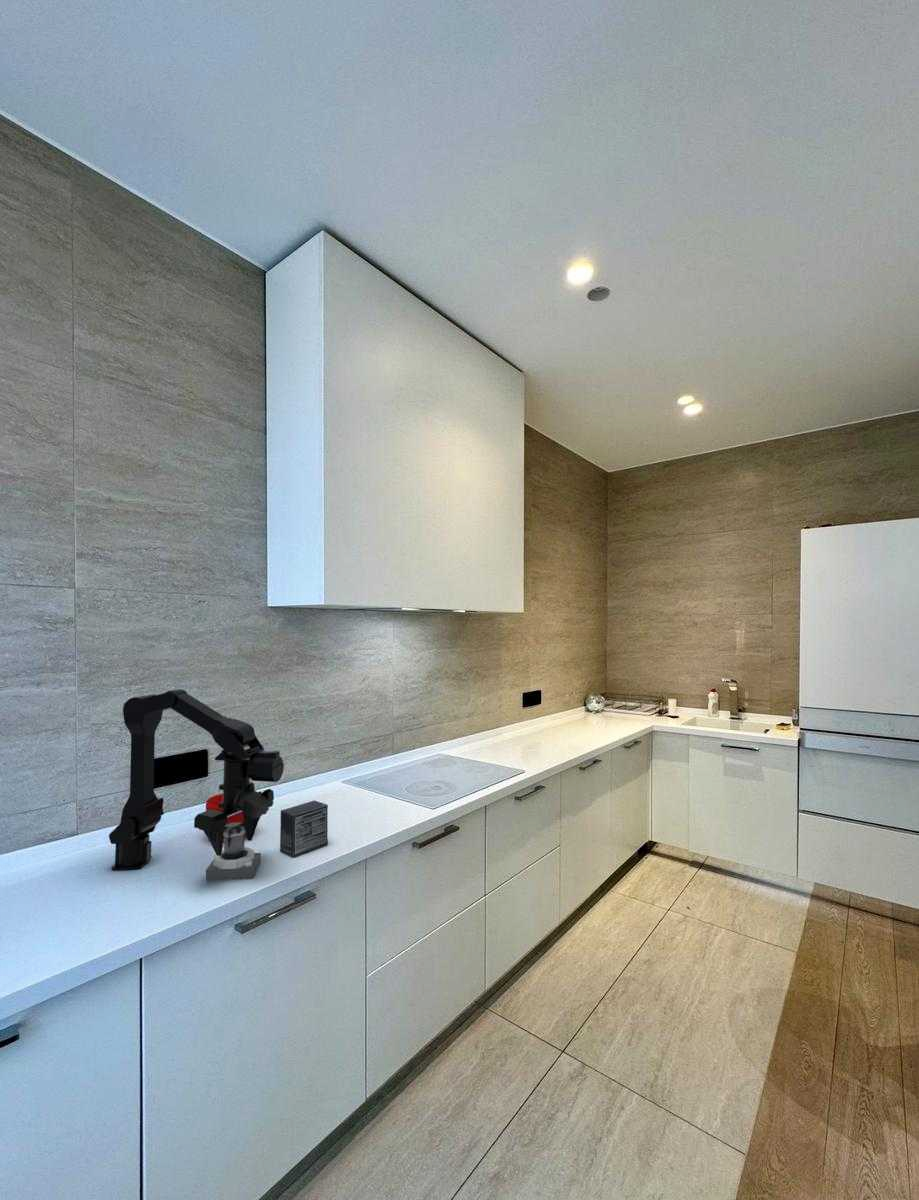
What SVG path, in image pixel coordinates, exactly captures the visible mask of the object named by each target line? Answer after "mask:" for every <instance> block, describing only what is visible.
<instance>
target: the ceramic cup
mask: <svg viewBox="0 0 919 1200" xmlns="http://www.w3.org/2000/svg"><path fill="white" fill-rule="evenodd" d="M220 802H223V793H218V794H215V795H213V796H211V797H209V798H208V799H207V800H206V802H205V811H208V810H215V811H222V810H223V808H218V806H219V803H220ZM235 822H242V823H244V817H243V812H240V813H238V814H236V815H233V816H231V817H228V822H227V824H230V823H235ZM227 824H226V825H227ZM226 825H225V826H226ZM223 842H224V833H223Z"/></svg>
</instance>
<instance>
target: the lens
mask: <svg viewBox="0 0 919 1200" xmlns="http://www.w3.org/2000/svg"><path fill="white" fill-rule="evenodd" d="M226 826H227V827H228V828H227V829H226V830H225V832H224V841H223V850H224V860H236V859H239V858H242V857H244V847H246V846H245V842H246V841H245V840H246V839H245V837H246V833H245V832H246V828H245V824H244V823H242V822H235V823H230V824H227V825H226Z"/></svg>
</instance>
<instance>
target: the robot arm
mask: <svg viewBox="0 0 919 1200" xmlns="http://www.w3.org/2000/svg"><path fill="white" fill-rule="evenodd" d="M168 709H171V710H172V711H174V712H176V713H178V714H179V715H181V716H182V717H184V718H186V719H187V720H189V721H191V722H192V723H193V724H195V725H197V726H198V727H200V729H203V730H205V731H206V732H208V733H209V734H210V735H211V736H212V739H213V741H214V743H215V744H216V745H218V746H219V747H220V748H221V749H222V750H221V751H220V753H219V754H218V755H216V756H215V757H214V760H215V761H221V762H222V761H223V779H222V780H223V783H222V784H219V785H218V786H219V787H218V790H219V791H222V794H223V802H220V803H219V806H218V808H223V810H222V811H215V810H208V811H206V810H205V811H202V812H199V813H198V814H197V815H195V817H194V821H193V828H194V829H198V830H200V831H203V833H204V834H205V836H206V837H207V840H208V841H209V843H210V845H211V846H212V848H213V851H214V853H215V856H216V855H217V856H221V854H222V851H223V848H224V841H223V833H224V832H225V830H226V829H227V828H228V827H227V826H225V825H226V824H227V822H228V817H231V816H233V815H236V814H238V813H240V812H243V817H244V824H245V828H246V832H245V837H246V841H248V842H251V841H252V840H253V837H254V835H255V832H256V828H257V827H258V823H259V821H260V819H261V817H262V816H263V815H266V814H267V812H268V811H270V810H269V809H270V808H271V807H273V806H274V799H275V796H274V793H275V792H274V790H273V789H271V788H268V789H267V788H266V789H265V790H263V791H260V790H259V791H257V790H256V789H255V784H254V782H267V783H268V782H269V783H270V782H271V783H277V782H279V781H280V780H281V778H282V776H283V774H284V769H285V763H284V761H283V758H282V757H281V756H280V755H281V754H280V750H273V751H271V750H270V751H268V750H267V751H266V750H265V748H264V747H263V745H262V744H261V742H260V740H259V739H258V737H257V735H256V732H255V728H254V727H253V726H252V725H251V724H249V723H247V722H245V721H242V720H239V719H236V718H231V717H227V716H225V715H222V714H221V713H219V712H218V711H216V710H215V709H213V708H211V707H210V706H208V705H206V704H205V703H203V702H201V701H200V700H198V699H197V698H195V697H193V696H192V695H191V694H189V693H188V692H187V691H186V690H184V689H181V688H179V689H178V688H177V689H172V690H168V691H166V692H163V693H159V694H154V693H152V694H146V695H140V696H135V697H131V698H129V699H127V701H126V702H124V704H123V706H122V714H123V721H124V722H123V723H124V725H125V727H126V728H127V730H128V731H129V733H130V770H129V771H130V773H129V775H130V776H129V777H130V778H129V797H128V798H127V800H126V802H125V804H124V806H123V807H122V811H121V816H120V821H119V824H118V825H117V826H116V827H115V828H114V829H113V830H112V831H111V832H110V833H109V834H108V838H109V842H110V844H111V845H115V853H114V865H113V866H111V867H110V868H111V871H118V870H119V871H121V870H123V871H124V870H139V869H142V868H143V866H145V865H146V864H147V863H148V862H149V861H150V860H151V858H153V856H152V842H153V841H152V840H150V837H151V836H150V835H151V834H150V833H153V832H154V831H155V829H156V827H157V825H158V823H160V822H161V820H162V816H163V815H165V813H164V808H163V807H164V806H163V805H164V802H165V801H164V798H163V797H159V798H158V797H157V795H156V793H155V789H154V787H155V742H156V741H155V740H156V739H155V738H156V735H155V733H156V730H157V729H158V727H159V724H160V723H161V720H162V716H163V712H164V711H166V710H168ZM245 748H246V749H245ZM251 781H253V782H251Z"/></svg>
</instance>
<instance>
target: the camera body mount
mask: <svg viewBox="0 0 919 1200" xmlns="http://www.w3.org/2000/svg"><path fill="white" fill-rule="evenodd" d="M261 857H262V856H261V852H255V849H252V848H250V847H248V846H245V847H244V857H242V858H239V859H236V860H224V849H222V854H221V856H217V855H216V854H215V855H214V856H213V859H212V860H211V862H210V863H209V865H208V866H207V868H206V869H205V882H218V881H220V882H221V881H236V880H238V881H239V880H252V879H253V878H254V876H255V875H256V873H257V871H258V869H259V867H260V865H261Z"/></svg>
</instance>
